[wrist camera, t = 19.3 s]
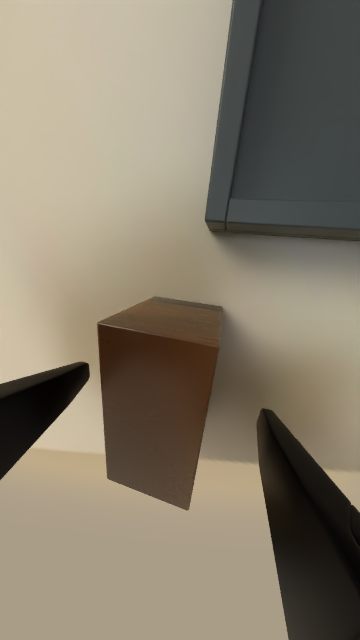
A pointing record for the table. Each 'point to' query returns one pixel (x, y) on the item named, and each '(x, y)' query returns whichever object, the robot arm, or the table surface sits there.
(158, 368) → the brown rectangular block
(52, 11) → the table surface
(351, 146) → the tray
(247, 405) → the table surface
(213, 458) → the table surface
